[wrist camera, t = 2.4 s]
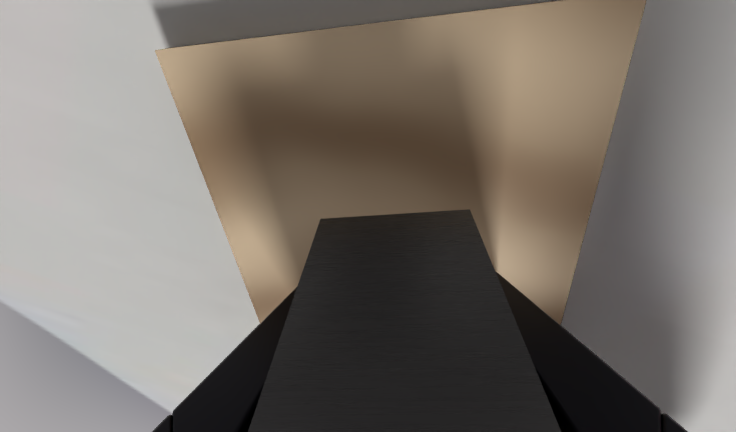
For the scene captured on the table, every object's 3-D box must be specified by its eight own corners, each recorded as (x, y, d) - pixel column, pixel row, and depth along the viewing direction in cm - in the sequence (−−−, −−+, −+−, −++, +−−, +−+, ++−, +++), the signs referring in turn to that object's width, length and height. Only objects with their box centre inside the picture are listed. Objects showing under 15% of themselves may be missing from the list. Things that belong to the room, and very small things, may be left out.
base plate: (523, 424, 21) (529, 442, 20) (308, 424, 23) (305, 440, 22) (626, -8, 10) (649, -11, 9) (173, 47, 11) (154, 50, 10)
